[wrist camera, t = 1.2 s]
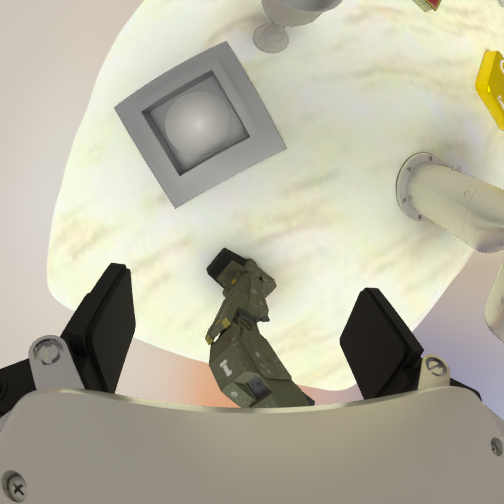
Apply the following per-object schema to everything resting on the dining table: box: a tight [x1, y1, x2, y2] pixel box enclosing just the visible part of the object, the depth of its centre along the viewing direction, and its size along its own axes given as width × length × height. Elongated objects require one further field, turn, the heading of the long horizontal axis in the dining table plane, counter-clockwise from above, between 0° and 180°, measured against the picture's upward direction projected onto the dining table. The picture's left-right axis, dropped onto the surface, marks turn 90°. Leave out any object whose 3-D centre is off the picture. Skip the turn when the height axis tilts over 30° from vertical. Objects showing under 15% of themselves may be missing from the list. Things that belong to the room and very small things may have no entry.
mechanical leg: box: [205, 248, 315, 408], centre depth 33 cm, size 14×7×30 cm, turn 50°
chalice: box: [253, 0, 342, 53], centre depth 21 cm, size 7×7×18 cm
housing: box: [114, 41, 287, 209], centre depth 32 cm, size 18×18×5 cm
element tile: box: [475, 51, 504, 130], centre depth 30 cm, size 15×15×5 cm
